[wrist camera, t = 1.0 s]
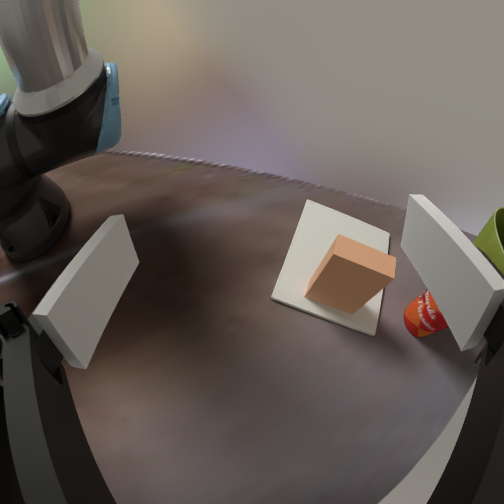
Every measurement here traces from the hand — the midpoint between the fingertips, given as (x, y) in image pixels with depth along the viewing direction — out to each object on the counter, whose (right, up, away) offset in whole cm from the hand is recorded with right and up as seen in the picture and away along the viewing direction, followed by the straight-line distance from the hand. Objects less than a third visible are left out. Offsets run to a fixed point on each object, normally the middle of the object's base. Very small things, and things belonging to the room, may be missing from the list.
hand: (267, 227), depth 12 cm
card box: (+10, -7, +24) cm, 27 cm away
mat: (+12, -3, +28) cm, 30 cm away
